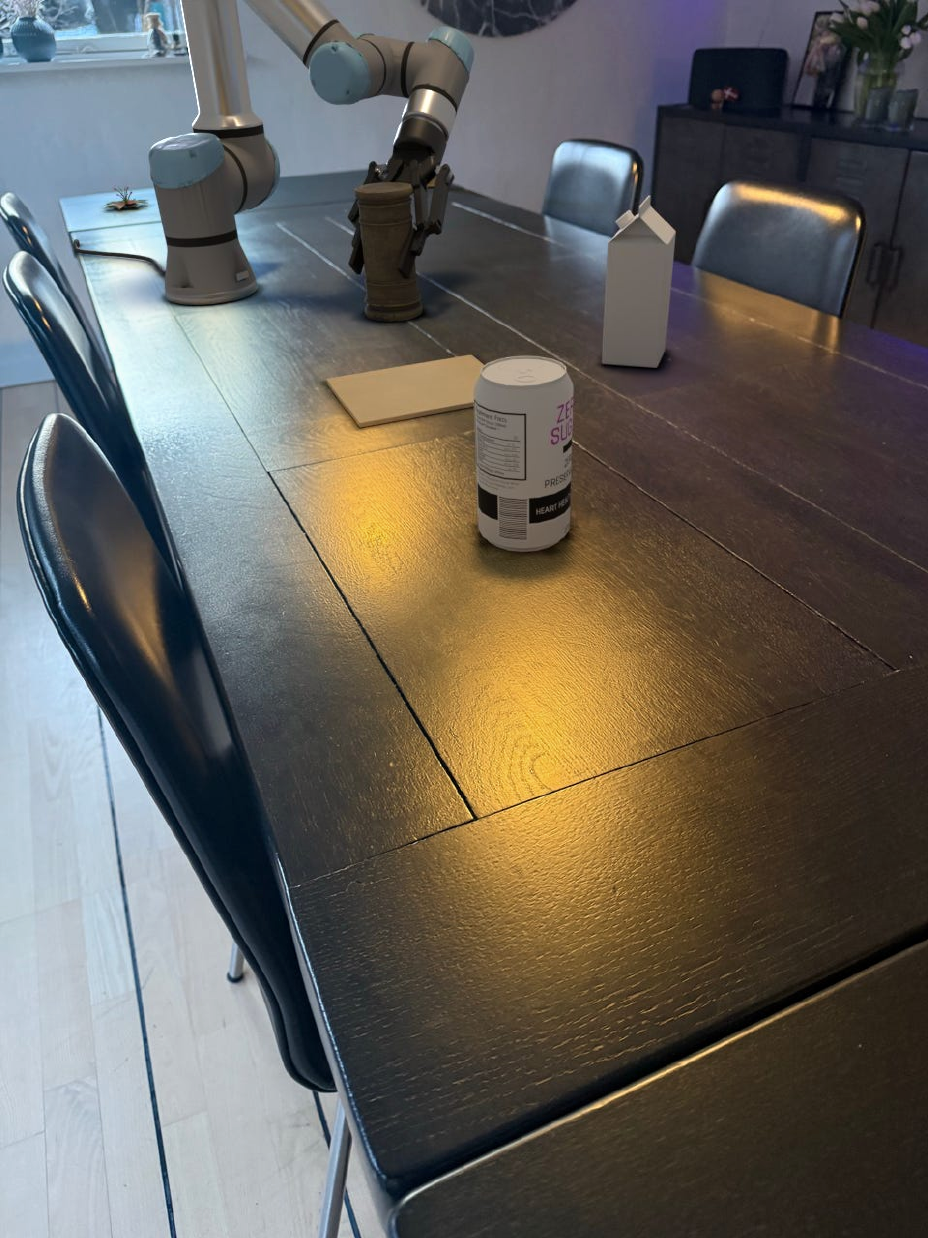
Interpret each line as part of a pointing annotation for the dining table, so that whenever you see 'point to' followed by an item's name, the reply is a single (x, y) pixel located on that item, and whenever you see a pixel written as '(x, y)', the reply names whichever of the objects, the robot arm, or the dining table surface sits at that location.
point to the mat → (408, 390)
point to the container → (387, 251)
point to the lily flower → (124, 201)
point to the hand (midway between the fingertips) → (378, 271)
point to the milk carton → (638, 289)
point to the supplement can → (523, 452)
